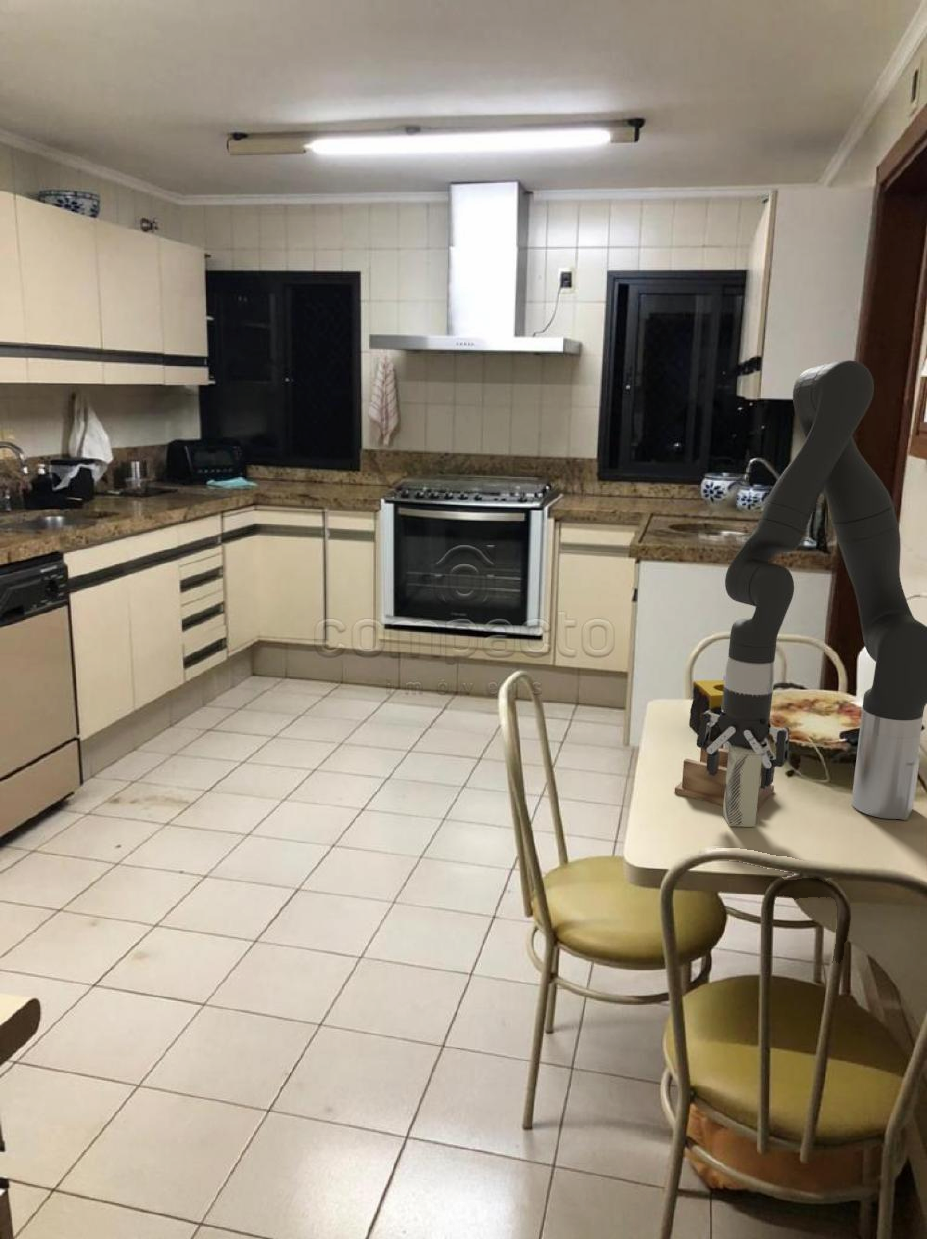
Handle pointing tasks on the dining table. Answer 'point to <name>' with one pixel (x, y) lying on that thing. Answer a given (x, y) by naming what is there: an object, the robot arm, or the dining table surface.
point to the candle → (706, 704)
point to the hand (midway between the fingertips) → (738, 780)
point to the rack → (711, 780)
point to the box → (742, 786)
